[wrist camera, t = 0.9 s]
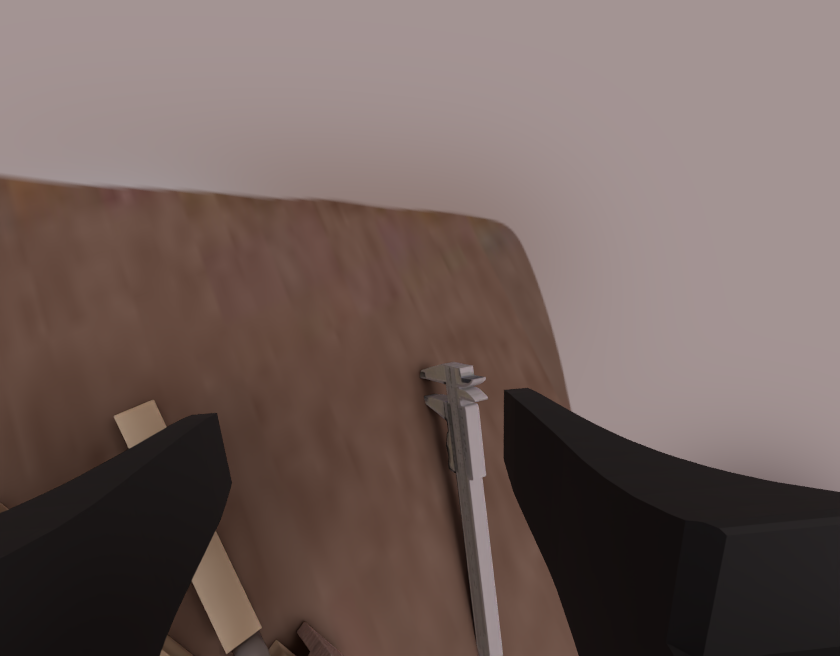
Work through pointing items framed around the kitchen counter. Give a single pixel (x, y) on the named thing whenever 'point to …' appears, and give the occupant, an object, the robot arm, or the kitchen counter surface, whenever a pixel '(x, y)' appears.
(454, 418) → the caliper
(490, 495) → the kitchen counter surface
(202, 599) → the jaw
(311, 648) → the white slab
